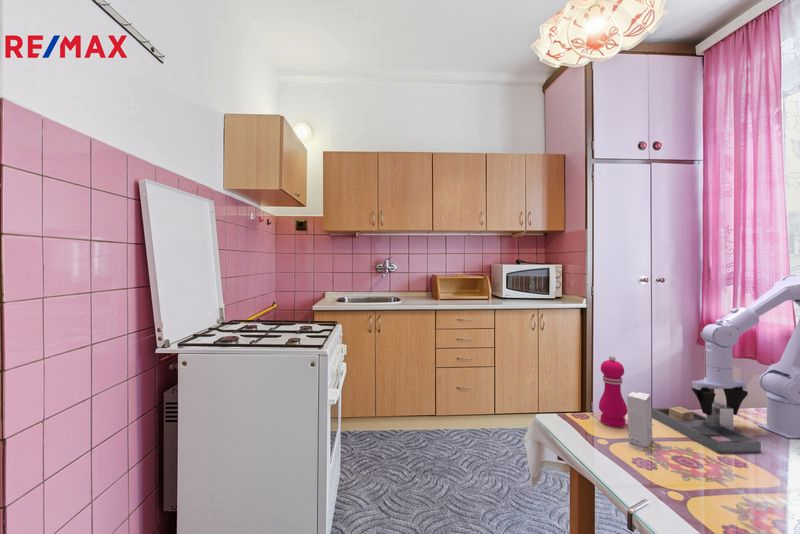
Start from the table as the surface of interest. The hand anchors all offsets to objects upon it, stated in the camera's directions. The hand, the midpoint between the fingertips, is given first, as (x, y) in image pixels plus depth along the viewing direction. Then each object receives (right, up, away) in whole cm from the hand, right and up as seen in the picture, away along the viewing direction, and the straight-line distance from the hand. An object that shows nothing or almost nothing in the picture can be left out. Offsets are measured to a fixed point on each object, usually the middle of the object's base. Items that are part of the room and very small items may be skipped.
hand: (719, 413), depth 100 cm
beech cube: (-9, -4, +3) cm, 10 cm away
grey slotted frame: (-9, -4, -3) cm, 10 cm away
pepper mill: (-29, -4, +3) cm, 29 cm away
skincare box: (-29, -4, -8) cm, 30 cm away
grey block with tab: (0, -4, 0) cm, 4 cm away
